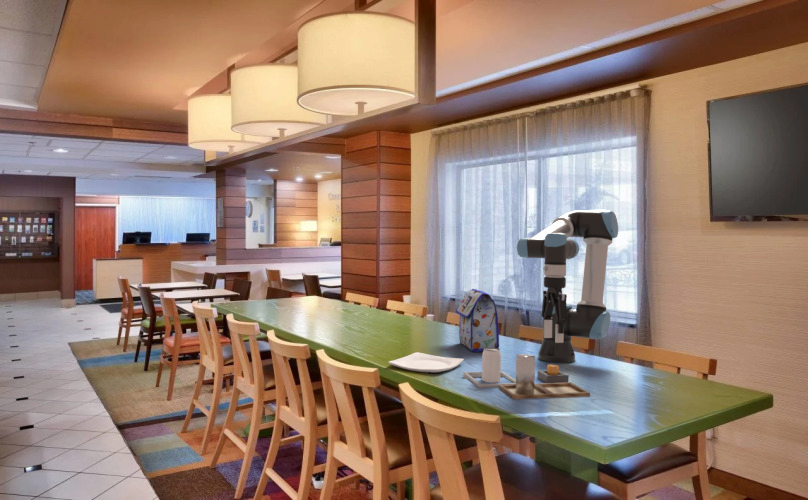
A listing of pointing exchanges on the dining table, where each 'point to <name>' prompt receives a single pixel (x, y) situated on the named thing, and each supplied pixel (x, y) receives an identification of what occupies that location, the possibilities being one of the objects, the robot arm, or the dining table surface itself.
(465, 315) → the lunch bag
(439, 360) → the plate
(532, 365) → the billet
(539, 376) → the grey square egg holder
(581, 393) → the divided wooden tray
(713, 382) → the dining table surface
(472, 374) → the grey rectangular frame
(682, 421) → the dining table surface
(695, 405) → the dining table surface
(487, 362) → the can
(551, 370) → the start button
